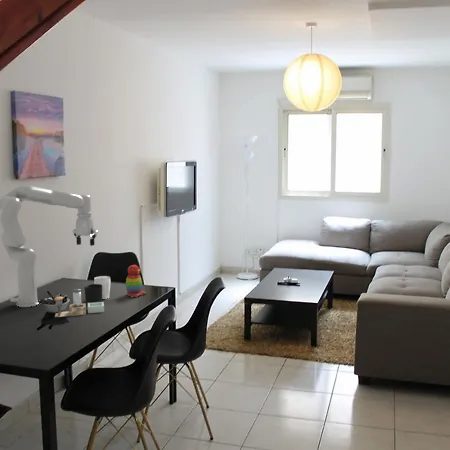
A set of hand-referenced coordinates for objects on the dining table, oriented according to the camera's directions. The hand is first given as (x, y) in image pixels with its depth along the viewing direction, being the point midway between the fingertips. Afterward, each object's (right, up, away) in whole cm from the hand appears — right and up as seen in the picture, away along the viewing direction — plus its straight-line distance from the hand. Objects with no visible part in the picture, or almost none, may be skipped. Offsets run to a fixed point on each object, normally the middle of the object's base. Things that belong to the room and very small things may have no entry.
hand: (85, 245), depth 327 cm
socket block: (+4, -34, -45) cm, 56 cm away
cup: (+13, -30, -11) cm, 35 cm away
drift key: (-2, -29, -47) cm, 55 cm away
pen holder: (+10, -32, -23) cm, 40 cm away
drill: (+7, -33, -44) cm, 55 cm away
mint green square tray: (+15, -33, -40) cm, 54 cm away
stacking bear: (+30, -29, -5) cm, 42 cm away
